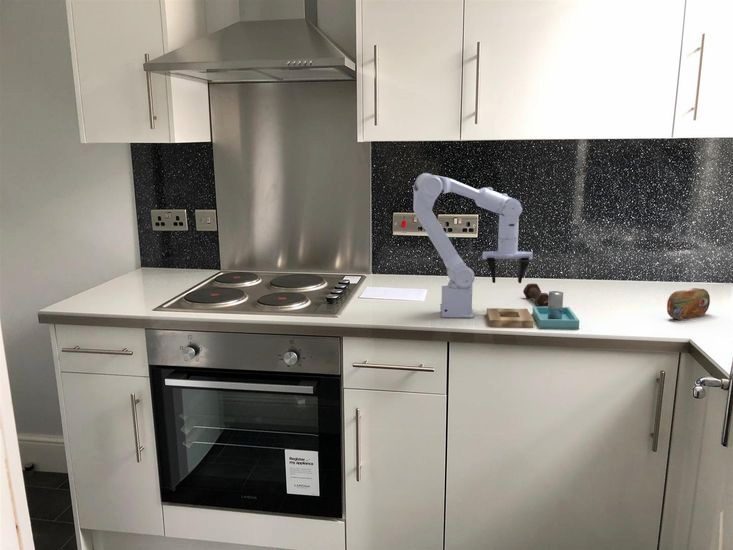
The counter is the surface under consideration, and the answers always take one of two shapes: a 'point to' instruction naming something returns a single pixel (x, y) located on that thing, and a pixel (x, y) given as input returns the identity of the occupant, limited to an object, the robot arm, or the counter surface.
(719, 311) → the counter surface
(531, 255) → the robot arm
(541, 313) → the tray
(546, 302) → the bolt
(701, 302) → the tin
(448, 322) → the counter surface
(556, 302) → the pin
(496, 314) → the wooden socket board
